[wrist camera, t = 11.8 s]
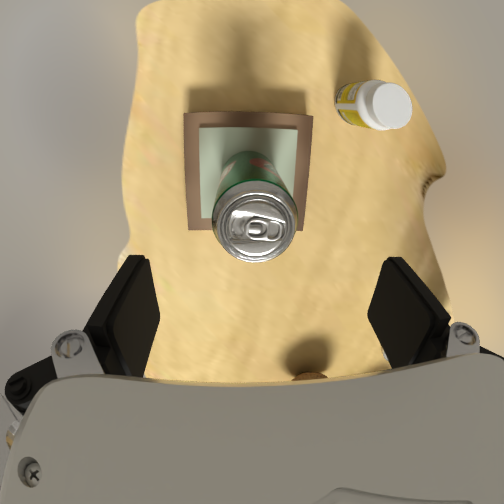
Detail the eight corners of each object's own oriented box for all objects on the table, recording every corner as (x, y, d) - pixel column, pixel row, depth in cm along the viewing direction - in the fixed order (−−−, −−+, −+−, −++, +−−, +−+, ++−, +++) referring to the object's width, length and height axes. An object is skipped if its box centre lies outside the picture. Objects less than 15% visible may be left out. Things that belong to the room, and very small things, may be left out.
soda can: (223, 148, 24) (211, 181, 14) (277, 152, 24) (309, 188, 14) (220, 199, 26) (208, 266, 16) (272, 202, 27) (294, 270, 16)
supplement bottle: (375, 123, 26) (418, 133, 18) (337, 127, 26) (372, 135, 19) (369, 83, 23) (412, 79, 16) (330, 84, 24) (364, 77, 16)
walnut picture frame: (306, 115, 25) (314, 116, 23) (297, 221, 31) (303, 232, 29) (188, 112, 25) (182, 113, 22) (192, 220, 31) (187, 231, 28)
